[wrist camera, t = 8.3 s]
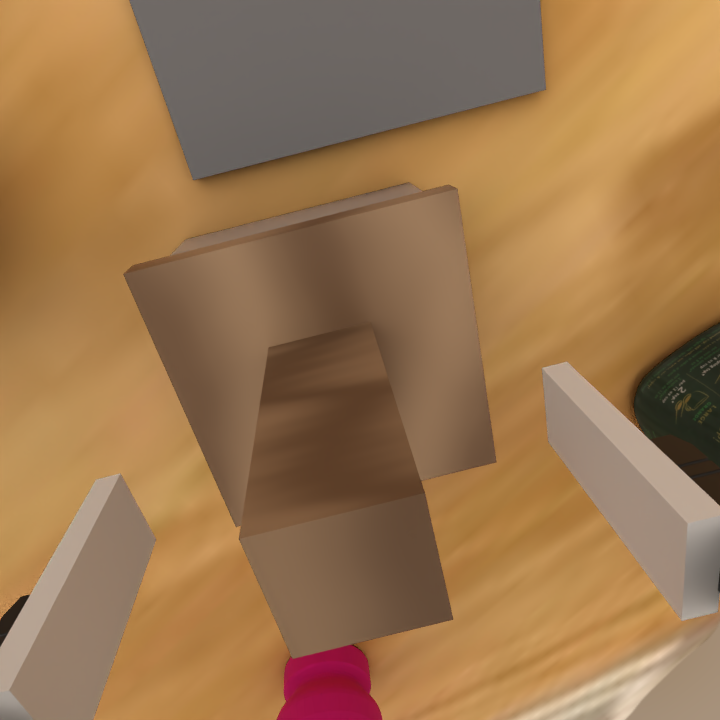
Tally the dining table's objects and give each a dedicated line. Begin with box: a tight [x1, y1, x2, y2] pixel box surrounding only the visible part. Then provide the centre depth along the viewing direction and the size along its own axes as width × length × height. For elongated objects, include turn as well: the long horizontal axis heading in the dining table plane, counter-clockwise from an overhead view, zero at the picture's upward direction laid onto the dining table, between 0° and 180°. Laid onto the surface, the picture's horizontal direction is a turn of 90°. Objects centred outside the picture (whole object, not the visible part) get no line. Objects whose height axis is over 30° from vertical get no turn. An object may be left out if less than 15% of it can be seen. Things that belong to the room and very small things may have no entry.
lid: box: [123, 185, 496, 659], centre depth 17 cm, size 12×12×11 cm
